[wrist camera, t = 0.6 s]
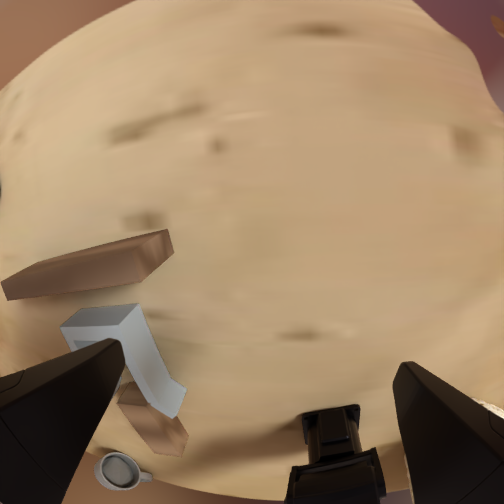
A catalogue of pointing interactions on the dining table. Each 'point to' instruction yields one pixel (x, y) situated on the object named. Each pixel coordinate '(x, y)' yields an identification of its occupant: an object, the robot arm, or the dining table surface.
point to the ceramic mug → (119, 472)
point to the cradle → (128, 350)
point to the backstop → (92, 267)
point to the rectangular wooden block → (153, 423)
